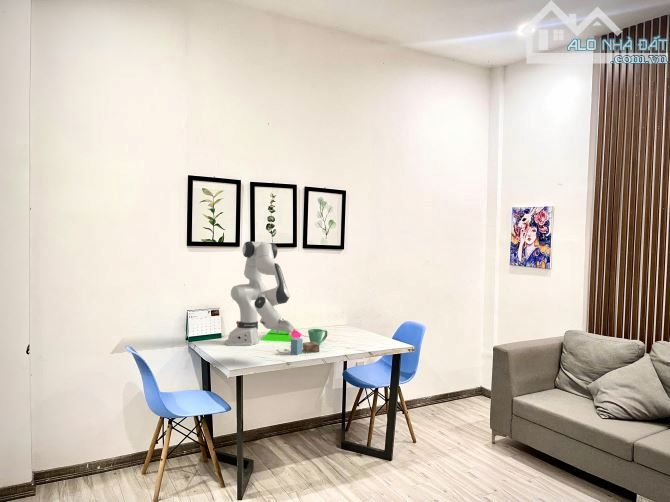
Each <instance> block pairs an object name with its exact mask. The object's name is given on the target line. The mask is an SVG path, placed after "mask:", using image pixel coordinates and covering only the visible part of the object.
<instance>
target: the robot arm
mask: <svg viewBox="0 0 670 502" xmlns="http://www.w3.org/2000/svg"><path fill="white" fill-rule="evenodd" d="M278 251H279V250H278V246H277V245H276V244H274V243H272V242H271V243H270V242H264V241H251V240H250V241H245V242H244V244H243V246H242V255H243V257H245V258H246V260H245V265H244V272H243V276H244V277H245V279H247V280H249V282H248V283H243V284H237V285H234V286H232V288H231V290H230V297H231V298H232V300H233V301H234V302H236V304H237V305H238V307H239V313H240V315H239V317H240V318H239V319H240V320H237V321H236V322H235V323H236V327H235V328H234V329H233V330H231V331H230V332H229V334H228V337H227V339H225V340H224V344H225V345H226V346H253V345H256V344H259V343H260V339H259V333H258V331H259V330H258V329H259V322H260V323H261V324H262V325H263V327H264V328H266V329H267V330H271V329H272V330H273V331H275V332H276V333H279V331H283V332H288V333H287V334H288V335H291V334H292V331H293V330H294V329H295V327H294V325H293V324H292V323H291V322H290V321H288V320H286V319H284V320H281V319H282V316H281V315H280V313H279V312H278V311H277V310H276V309H275V306H278V305H283V304H287V302H288V301H289V299H290V297H291V296H290V292H289V290H288V287H287V284H286V280H285V278H284V274H283V271H282V269H281V266H280V265H279V264H278V263H276V261H275V259H276V258H277V256H278ZM262 275H266V276H274V278H275V281H276V284H277V285H276V287H273V288H271V289H267V287H266V285H265V284H264V283H263V281H262ZM251 301H254V303H253V305H252V302H251ZM258 315H259V316H260V317H261V318H260V320H259V321H258Z"/></svg>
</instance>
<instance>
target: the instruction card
mask: <svg viewBox="0 0 670 502" xmlns="http://www.w3.org/2000/svg"><path fill="white" fill-rule="evenodd" d="M276 351H277V352H278V353H288V352H289V353H291V347H289V348H281V349H280V348H279V349H276Z"/></svg>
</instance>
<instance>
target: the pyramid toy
mask: <svg viewBox="0 0 670 502" xmlns="http://www.w3.org/2000/svg"><path fill="white" fill-rule="evenodd" d="M281 320H285V319H284V318H282V317H281ZM287 333H288V332H283V331H279V333H276V332H275V331H273V330H272V329H269V331H267V333H266V334H265V335H264V336H263V337H262V338H261V339H260V341H264V342H282V343H285V342H286V343H291V339H293V338H301V336H302V335H303V334H301V332H299V331H298V330H296V328H294V330H293V331H292V334H291V335H288V334H287Z"/></svg>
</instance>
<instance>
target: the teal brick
mask: <svg viewBox="0 0 670 502" xmlns="http://www.w3.org/2000/svg"><path fill="white" fill-rule="evenodd" d="M290 348H291V352H290V355H295V356H298V355H302V354H303V338H301V337H299V338H293V339H291V342H290Z"/></svg>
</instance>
